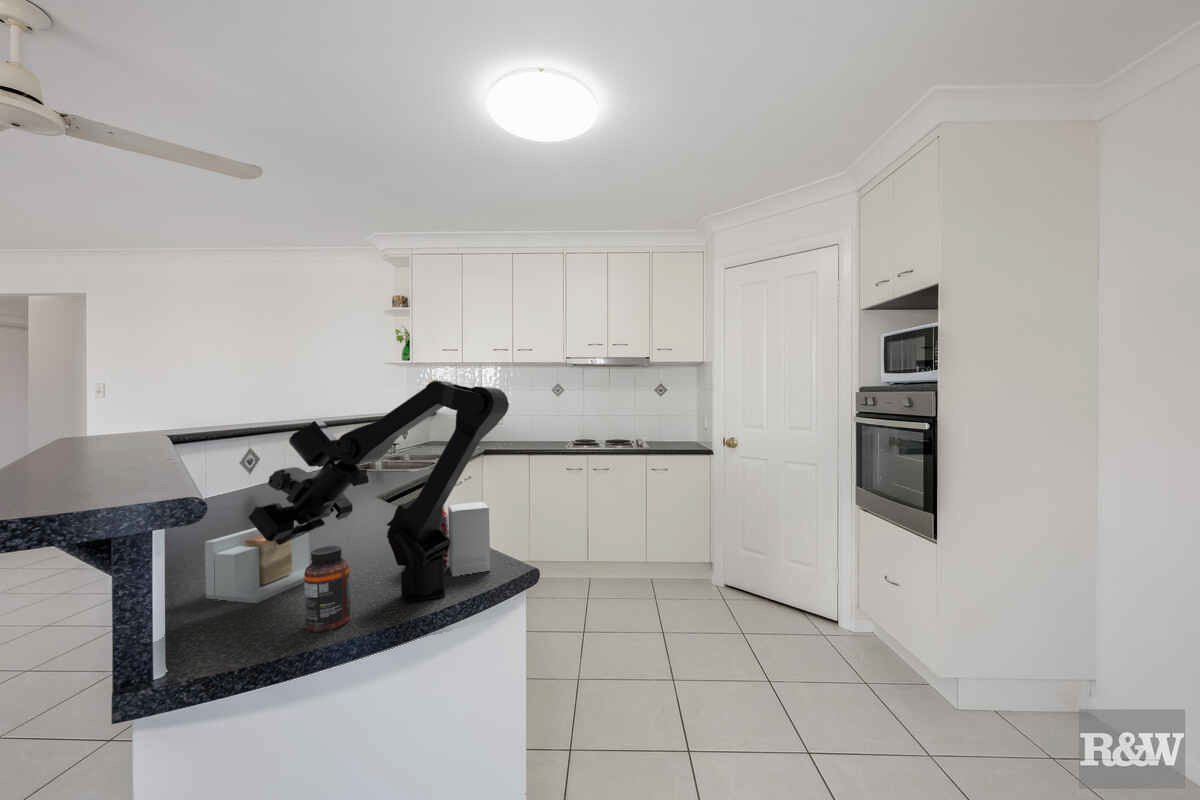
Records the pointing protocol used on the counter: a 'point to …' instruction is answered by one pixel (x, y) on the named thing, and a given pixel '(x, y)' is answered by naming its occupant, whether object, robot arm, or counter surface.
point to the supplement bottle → (327, 590)
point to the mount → (248, 568)
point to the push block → (272, 558)
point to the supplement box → (469, 538)
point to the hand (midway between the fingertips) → (279, 542)
